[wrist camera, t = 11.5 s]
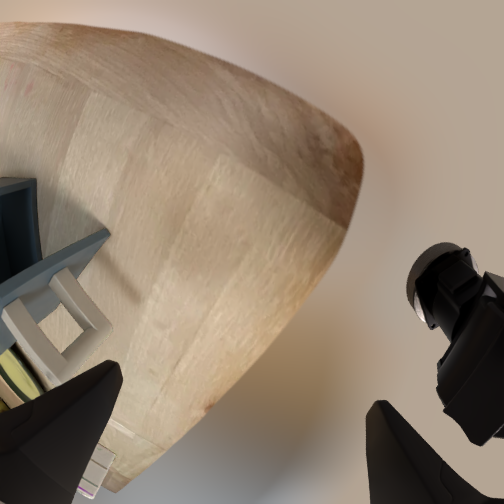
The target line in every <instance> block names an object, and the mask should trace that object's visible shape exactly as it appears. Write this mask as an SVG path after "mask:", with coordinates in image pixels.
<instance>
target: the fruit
mask: <svg viewBox="0 0 504 504" xmlns="http://www.w3.org/2000/svg"><path fill="white" fill-rule="evenodd" d="M8 410H10V409H9V408H8V407H7V406H6V405H5V404H4V402H2V401H1V400H0V413H2V412H5V411H8Z"/></svg>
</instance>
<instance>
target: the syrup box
mask: <svg viewBox="0 0 504 504" xmlns="http://www.w3.org/2000/svg"><path fill="white" fill-rule="evenodd" d="M115 457H116V454H114V453H113V452H111V451H110V450H108V449H107V448H105V447H104V446H102V445H100V444H99V443H97V446H96V448H95V450H94V452H93V454H92V456H91V459H90V461H89V463H88V465H87V467H86V470H85V472H84V474H83V476H82V479H81V481H80V483H79V486H78V488H77V490H76V491H78V492H79V493H81V494H83V495H84V496H86V497H88V498H90V499H94V497H95V495H96V493H97V491H98V489H99V487H100V485H101V484H102V482H103V480H104V478H105V476H106V474H107V472H108V470H109V468H110V466H111V464H112V462H113V461H114V459H115Z"/></svg>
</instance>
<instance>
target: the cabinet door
mask: <svg viewBox="0 0 504 504" xmlns="http://www.w3.org/2000/svg"><path fill="white" fill-rule="evenodd" d="M109 236H110V234H109V232H108V231H107V229H106V228H105V229H103V230H100V231H98V232H96V233H94V234H92V235H90V236H88V237H86V238H84V239H82V240H80V241H78V242H76V243H74V244H72V245H70V246H68V247H66V248H64V249H62V250H60V251H58V252H56V253H54V254H52V255H50V256H49V257H47V258H45V259H43V260H41V261H39V262H38V263H36V264H34V265H32V266H30V267H29V268H27V269H25V270H23V271H22V272H20V273H18V274H17V275H15V276H13V277H12V278H10V279H8V280H7V281H5V282H3V283H2V284H0V355H1V354H3V353H4V352H5V351H6V350H7V349H8V348H9V347H11V346H12V345H13V344H14V343H15V342H16V341H18V343H19V344H20V345H21V347H22V348H23V349H24V351H25V352H26V353H27V354H28V356H29V357H30V358H31V360H32V361H33V362H34V363H35V364H36V366H37V367H38V368H39V369H40V370H41V372H42V373H43V374H44V375H45V376H46V377H47V378H48V379H49V381H50V382H51V383H52V384H53V385H55V386H56V387H57V386H59V385H61V384H63V383H65V382H67V381H69V380H70V379H71V378H72V377H73V375H74V374H75V373H76V372H77V371H78V370H79V369H80V367H81V366H82V365H83V364H84V363H85V362H86V361H87V360H88V358H89V357H90V356H91V355H92V354H93V353H94V352H95V351H96V350H97V349H98V347H99V346H100V345H101V344H102V343H103V342H104V341H105V340H106V339H107V338H108V337H109V335H110V334H111V333H112V332H113V326H112V324H111V322H110V321H109V320H108V319H107V318H106V317H105V315H104V314H103V313H102V312H101V311H100V309H99V308H98V307H97V306H96V305H95V303H94V302H93V301H92V300H91V298H90V297H89V296H88V295H87V293H86V292H85V291H84V289H83V288H82V287H81V286H80V284H79V283H78V282H77V280H76V279H77V277H78V276H79V275H80V273H81V272H82V270H83V269H84V268H85V266H86V265H87V264H88V262H89V261H90V260H91V259H92V257H93V256H94V255H95V253H96V252H97V251H98V250H99V248H100V247H101V246H102V245H103V243H104V242H105V241H106V240H107V238H108V237H109ZM60 302H61V303H62V304H63V305H64V307H65V308H66V309H67V310H68V312H69V313H70V314H71V316H72V317H73V318H74V319H75V321H76V322H77V323H78V324H79V325H80V327H81V328H82V329H83V330H84V332H83V333H82V334H81V335H80V336H79V337H78V338H77V339H76V340H75V341H74V342H73V343H72V344H70V345H69V346H68V347H67V348H66V349H65V350H64V351H63V352H62V353H61V354H60V352H59V351H58V350H57V349H56V348H55V346H54V345H53V344H52V343H51V342H50V340H49V339H48V338H47V337H46V335H45V334H44V333H43V331H42V330H41V329H40V327H39V326H38V325H37V324H38V323H39V322H40V321H41V320H43V319H44V318H45V317H46V316H48V315H49V314H50V313H51V312H53V311H54V310H55V309H56V308H57V306H58V305H59V303H60Z"/></svg>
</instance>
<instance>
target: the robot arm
mask: <svg viewBox="0 0 504 504" xmlns="http://www.w3.org/2000/svg"><path fill="white" fill-rule="evenodd" d="M465 252H466V254H465ZM464 254H465V255H464ZM421 281H422V282H421ZM419 282H421V284H419ZM415 287H416V290H417V292H418V295H419V299H420V302H421V305H422V308H423V311H424V315H425V318H426V321H427V325H428V327H429V329H430V330H434V329H435V328H437V327H439V326H440V327H441V329H442V330H443V332H444V333H445V335H446V336H447V338H448V339H449V341H450V343H451V344H450V346H449V348H448V349H447V351H446V352H445V354H444V356H443V357H442V358H441V359H440V360H439V361H438V363H437V369H438V374H437V381H438V386H437V387H436V391H437V393H438V396H439V398H440V399H441V401H442V403H443V405H444V407H445V408H444V409H443V412H444V413H445V414H447V415H448V416H450V417H451V418H453V419H454V420H455V421H456V422H457V423H458V424H459V425H460V426H461V428H462V429H463V431H464V433H465V434H466V436H467V437H468V439H469V441H470V442H471V443H473V444H476V445H478V446H483V445H484V444H485V443H486V442H487V441H489V440H490V439H491V438H492V437H495V438H502V439H504V278H503V277H500V276H498V275H495V274H492V273H489V272H486V271H485V273H484V275H483V278H482V277H481V276H480V275H479V274H477V272H476V271H475V270H474V268H473V263H472V258H471V254H470V250H469V249H467V248H465V247H464V248H462V249H461V250H460V251H458V252H457V253H455V254H454V255H451V256H450V257H448V258H447V259H445V260H444V261H442V262H441V263H439V264H438V265H436V266H435V267H433V268H432V269H431V270H429V271H428V272H426V273H425V274H423V275H421V276H420V277H418V278H417V279H416V280H415ZM122 383H123V376H122V372H121V369H120V365H119V364H118V363H117V362H115V361H112V360H106V361H104V362H102V363H100V364H99V365H97V366H95V367H93V368H91V369H89V370H87V371H86V372H84V373H82V374H80V375H78V376H76V377H74V378H72V379H71V380H69V381H67V382H65V383H63V384H61V385H59V386H57V387H55V388H53V389H52V390H50V391H48V392H46V393H44V394H42V395H40V396H38V397H36V398H35V399H32V400H30V401H28V402H26V403H24V404H22V405H20V406H18V407H15V408H13V409H10V410H8V411H5V412H2V413H0V504H71V503H72V500H73V498H74V495H75V493H76V490H77V488H78V486H79V483H80V481H81V479H82V476H83V474H84V472H85V470H86V467H87V465H88V463H89V461H90V459H91V456H92V454H93V452H94V450H95V448H96V446H97V443H98V441H99V439H100V437H101V435H102V433H103V431H104V429H105V427H106V425H107V423H108V421H109V418H110V416H111V414H112V411H113V408H114V405H115V403H116V400H117V397H118V394H119V391H120V389H121V386H122ZM366 457H367V467H368V478H369V490H370V504H504V499H501V498H490V497H487V496H485V495H483V494H481V493H480V492H479V491H478V490H476V489H475V488H474V487H473V486H471V485H470V484H469V483H468V482H466V481H465V480H464V479H463V478H462V477H460V476H459V475H458V474H457V473H456V472H455V471H454V470H453V469H452V468H451V467H450V466H449V465H448V464H447V463H446V462H445V461H444V460H443V459H442V458H441V457H440V456H439V455H438V454H437V453H436V452H435V450H434V449H433V448H432V447H431V446H430V445H429V444H428V443H427V442H426V441H425V440H424V439H423V438H422V437H421V436H420V435H419V434H418V433H417V432H416V430H414V429H413V427H412V426H411V425H410V424H409V423H408V422H407V421H406V420H405V419H404V418H403V417H402V416H401V415H400V414H399V412H398V411H397V410H396V409H395V408H394V407H393V406H392V405H391V404H390V403H389V402H388V401H387V400H377V401H375V402H374V404H373V406H372V407H371V408H370V410H369V411H368V413H367V415H366Z"/></svg>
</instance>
